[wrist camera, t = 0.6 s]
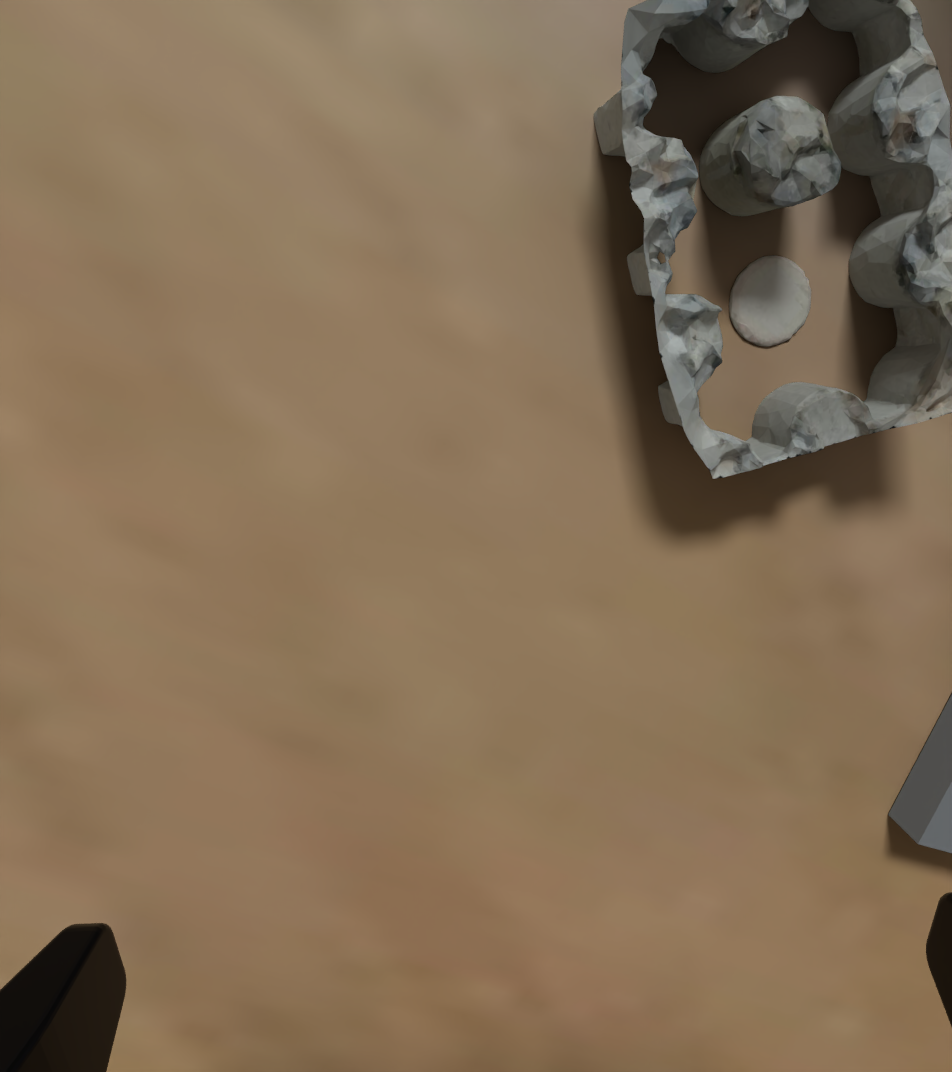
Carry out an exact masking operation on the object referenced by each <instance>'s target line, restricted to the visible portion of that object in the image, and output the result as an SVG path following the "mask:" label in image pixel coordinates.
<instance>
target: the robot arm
mask: <svg viewBox="0 0 952 1072" xmlns="http://www.w3.org/2000/svg"><path fill="white" fill-rule="evenodd" d="M926 956H927V961H928V965H929V968H930V971H931V974H932V976H933V979H934V982H935V984H936V987H937V989H938V992H939V995H940V997H941V1000H942V1003H943V1005H944V1008H945V1010H946V1013H947V1016H948V1018H949V1021H950V1024H951V1026H952V892H951V893H946V894H944V895H943V896H942V897H941V898H940V900H939V902H938V906H937V909H936V912H935V916H934V919H933V922H932V926H931V929H930V932H929V936H928V939H927V943H926ZM125 991H126V974H125V969H124V966H123V963H122V960H121V957H120V953H119V950H118V947H117V944H116V941H115V938H114V934H113V932H112V930H111V928H110V927H109V926H108V925H107V924H104V923H92V924H74V925H71V926H68V927H67V928H65V929H64V930H62V931H61V932H60V933H59V934H58V935H57V936H56V937H55V938H54V939H53V940H52V941H51V942H50V943H49V944H48V945H46V946H45V947H44V948H43V949H42V950H41V951H40V952H39V953H38V954H37V955H36V956H35V957H34V958H33V959H32V960H31V961H30V962H29V963H28V964H27V965H26V966H25V967H24V968H23V969H21V970H20V971H19V972H18V973H17V974H16V975H15V976H14V977H13V978H12V979H11V980H10V981H9V982H8V983H7V984H6V985H5V986H4V987H3V988H2V989H1V990H0V1072H106V1071H107V1067H108V1063H109V1058H110V1054H111V1050H112V1046H113V1042H114V1038H115V1034H116V1030H117V1026H118V1022H119V1018H120V1014H121V1010H122V1006H123V1001H124V997H125Z"/></svg>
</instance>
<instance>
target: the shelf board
mask: <svg viewBox="0 0 952 1072" xmlns="http://www.w3.org/2000/svg"><path fill="white" fill-rule="evenodd" d="M888 815H889V816H890V817H891V818H892V819H893V820H894V821H895V822H896V823H897V824H898V825H899V826H900V827H901V828H902V829H903V830H904V831H905V832H906V833H907V834H908V835H909V836H910V837H911V838H912V839H913V840H914V841H915V842H916V843H917V844H919V845H923V846H927V847H930V848H934V849H938V850H941V851H945V852H949V853H952V694H951V696H950V698H949V700H948V702H947V704H946V706H945V708H944V710H943V712H942V713H941V715H940V717H939V719H938V721H937V723H936V725H935V727H934V729H933V731H932V732H931V734H930V736H929V738H928V740H927V742H926V744H925V746H924V748H923V750H922V751H921V753H920V755H919V757H918V759H917V761H916V763H915V765H914V767H913V769H912V770H911V772H910V774H909V776H908V778H907V780H906V782H905V784H904V786H903V788H902V789H901V791H900V793H899V795H898V797H897V799H896V801H895V803H894V805H893V807H892V808H891V810H890V812H889V814H888Z"/></svg>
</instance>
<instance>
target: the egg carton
mask: <svg viewBox="0 0 952 1072" xmlns="http://www.w3.org/2000/svg"><path fill="white" fill-rule="evenodd" d="M807 7H809V9H810V11H811V13H812V15H813V16H814V17H815V18H816V19H817V20H818V21H819V22H820V23H821V24H822V25H823V26H824V27H827V28H829V29H832V30H834V31H845V32H852V34H853V36H854V39H855V42H856V45H857V48H858V55H859V69H860V77H859V78H858V79H856V80H855V81H853V82H852V83H850V84H849V85H848V86H847V87H845V88H844V89H843V90H842V92H841V93H840V94H839V96H838V97H837V98H836V100H835V102H834V104H833V106H832V108H831V110H830V111H829V114H828V122H827V125H826V121H825V118H824V114H823V113H822V112H821V111H819V110H818V109H816V108H815V107H813V106H812V105H810V104H809V103H807V102H806V101H804V100H803V99H801V98H799V97H793V96H774V97H771V98H769V99H766V100H763V101H760V102H758V103H757V104H756V105H754V106H752V107H751V108H749V109H747V110H745V111H743V112H741V113H739V114H737V115H736V116H734V117H732V118H730V119H729V120H727V121H726V122H724V123H723V124H722V125H721V126H719V127H718V128H717V129H716V130H715V131H714V132H713V133H712V135H711V136H710V138H709V139H708V141H707V143H706V145H705V146H704V148H703V151H702V153H701V156H700V163H699V177H700V181H701V185H702V189H703V190H704V192H705V194H706V195H707V197H708V198H709V199H710V200H711V201H712V202H713V203H714V204H715V205H716V206H717V207H719V208H720V209H722V210H724V211H725V212H727V213H729V214H731V215H733V216H750V215H754V214H759V213H763V212H766V211H770V210H774V209H778V208H784V207H789V206H794V205H797V204H800V203H803V202H805V201H808V200H811V199H814V198H816V197H818V196H821V195H823V194H824V193H826V192H828V191H830V190H832V189H833V188H834V187H835V186H836V185H837V184H838V181H839V178H840V173H841V167H842V168H843V169H845V170H847V171H850V172H852V173H855V174H858V175H865V176H869V177H870V179H871V184H872V188H873V191H874V193H875V196H876V199H877V202H878V205H879V208H880V213H881V216H880V218H878V219H876V220H875V221H873V222H872V223H871V224H869V225H868V226H867V227H866V228H865V229H864V230H863V231H862V232H861V234H860V235H859V237H858V239H857V240H856V242H855V244H854V247H853V249H852V252H851V255H850V259H849V276H850V279H851V282H852V285H853V286H854V288H855V290H856V292H857V293H858V295H859V296H860V297H861V298H862V299H863V300H864V301H865V302H867V303H870V304H873V305H876V306H879V307H882V308H893V310H894V315H895V319H896V324H897V333H898V335H897V342H896V346H895V348H893V349H892V350H891V351H889V352H888V353H886V354H885V355H884V356H883V357H882V358H881V360H880V361H879V362H878V364H877V365H876V366H875V368H874V370H873V373H872V375H871V378H870V383H869V387H868V393H867V398H866V400H865V401H861V400H860V399H859V398H858V397H857V396H855V395H854V394H853V393H850V392H847V391H844V390H841V389H838V388H832V387H826V386H821V385H816V384H811V383H804V382H794V383H789V384H785V385H783V386H781V387H779V388H778V389H775V390H774V391H773V392H771V393H770V394H769V395H768V396H766V397H765V398H764V399H763V401H762V402H761V404H760V405H759V407H758V409H757V411H756V413H755V417H754V421H753V425H752V437H751V438H750V439H748V440H747V441H743V440H741V439H739V438H736V437H734V436H732V435H729V434H726V433H723V432H720V431H715V430H711V429H710V428H709V427H708V426H707V425H706V424H705V423H704V421H703V420H702V418H701V417H700V412H699V398H698V395H697V392H698V390H699V389H700V387H701V386H702V384H703V383H704V382H705V381H706V380H707V379H708V378H709V377H710V376H711V375H712V374H713V372H714V370H715V368H716V367H717V366H719V365H720V364H721V363H722V358H721V351H722V347H723V342H722V334H721V330H720V326H719V322H718V319H717V317H718V313H719V312H720V311H722V309H721V308H720V307H719V306H717V305H714V304H712V303H711V302H709V301H708V300H706V299H704V298H703V297H701V296H699V295H696V294H665V290H666V286H667V285H668V283H669V282H670V281H671V278H672V274H673V273H672V271H671V268H670V265H669V262H668V260H669V259H670V257H671V256H672V254H673V253H674V252H675V238H676V237H677V235H678V234H679V232H680V231H681V230H683V229H686V228H688V226H689V224H690V223H691V221H692V219H693V217H694V216H695V214H696V212H697V209H696V207H695V204H694V202H693V198H694V193H695V187H696V181H697V179H698V171H697V169H696V165H695V163H694V161H693V159H692V157H691V155H690V154H689V152H688V151H687V150H686V149H685V147H684V145H683V143H682V140H680V139H676V138H669V137H661V136H657V135H654V134H653V133H651V132H649V131H647V130H646V129H645V128H644V126H643V119H644V117H645V116H646V114H647V113H648V112H649V111H650V109H651V106H652V103H653V101H654V100H655V98H656V96H657V92H656V88H655V84H654V82H653V81H652V79H651V78H649V77H647V76H645V75H644V74H643V71H644V69H645V68H646V67H647V65H648V64H649V62H650V61H651V59H652V57H653V54H654V52H655V46H656V44H657V41H658V39H659V38H663V39H664V40H665V41H666V42H667V43H668V44H669V43H672V44H673V46H675V47H676V49H677V50H676V51H678V52H679V53H680V54H681V56H682V57H683V58H684V59H685V60H686V61H687V62H689V63H690V64H691V65H693V66H695V67H696V68H698V69H701V70H702V71H704V72H713V73H718V72H724V71H727V70H730V69H732V68H734V67H735V66H737V65H739V64H740V63H741V62H743V61H744V60H746V59H748V58H749V57H750V56H751V55H753V54H754V53H756V52H757V51H759V50H760V49H762V48H764V47H766V46H767V45H768V44H771V43H774V42H776V41H778V40H780V39H783V38H785V37H787V34H788V28H789V25H790V24H791V23H792V22H793V21H795V20H796V19H797V18H799V17H801V16H802V15H803V13H804V12H805V10H806V9H807ZM621 86H622V88H621V90H620V91H619V92H617V93H616V94H615V95H614V96H613V97H612V98H611V99H610V100H608V101H607V102H606V103H605V104H604V105H603V106H601V107H599V108H598V109H597V111H596V112H595V113H594V122H595V127H596V132H597V136H598V140H599V144H600V147H601V151H602V153H603V154H605V155H610V156H623V157H626V161H627V162H628V163H629V164H630V166H631V168H632V174H631V179H630V184H629V186H630V190H631V194H632V198H633V200H634V202H635V203H636V204H637V206H638V207H639V208H640V210H641V212H642V214H643V217H644V244H643V245H642V246H641V247H639V248H638V249H636V250H634V251H633V252H631V253H630V254H629V255H627V262H628V268H629V271H630V275H631V280H632V285H633V288H634V291H635V293H636V294H637V295H645V296H652V297H653V302H654V312H655V322H656V332H657V339H658V346H659V353H660V356H661V359H662V362H663V365H664V368H665V371H666V375H667V378H668V381H666V382H664V383H662V384H661V385H659V386H658V392H659V400H660V404H661V408H662V412H663V415H664V417H665V420H666V421H667V422H668V423H671V424H678V425H680V426H683V429H684V432H685V433H686V435H687V437H688V439H689V441H690V443H691V445H692V447H693V448H694V449H695V451H696V452H697V454H698V455H699V456H700V458H701V459H702V460H703V462H704V463H705V465H706V466H707V467H708V469H709V470H710V472H711V475H712V478H713V479H715V478H724V477H727V476H730V475H734V474H738V473H742V472H746V471H750V470H754V469H758V468H761V467H762V466H764V465H767V464H771V463H774V462H777V461H781V460H784V459H788V458H792V457H795V456H799V455H803V454H808V453H812V452H816V451H819V450H822V449H824V446H828V445H831V444H835V443H839V442H842V441H845V440H849V439H852V438H855V437H858V436H862V435H865V434H871V433H875V432H879V431H883V430H887V429H891V428H896V427H901V426H906V425H910V424H915V423H919V422H922V421H926V420H929V419H932V418H936V417H939V416H942V415H945V414H949V413H952V148H951V144H950V103H949V100H948V98H947V95H946V92H945V89H944V87H943V83H942V80H941V77H940V74H939V70H938V67H937V64H936V61H935V58H934V56H933V53H932V50H931V49H930V47H929V45H928V43H927V41H926V39H925V37H924V36H923V29H922V21H921V17H920V15H919V13H918V11H917V8H916V7H915V6H914V5H913V3H912V2H911V1H910V0H647V1H645V2H642V3H640V4H638V5H636V6H633V7H631V8H629V9H628V12H627V15H626V19H625V22H624V35H623V49H622V62H621ZM659 251H660V252H661V253H663V254H665V260H666V262H665V263H663V264H661V263H660V261H659V260H658V259H657V256H658V253H659ZM810 305H811V289H810V287H809V279H808V278H806V277H805V272H804V271H803V270H802V269H801V268H800V267H799V266H798V265H797V264H796V263H795V262H793V261H791V260H789V259H787V258H786V257H780V256H775V255H773V256H763V257H761V258H759V259H757V260H755V261H754V262H752V263H750V264H749V265H748V266H747V267H746V268H745V269H744V270H743V271H742V272H741V273H740V274H739V275H738V277H737V279H736V281H735V283H734V285H733V287H732V289H731V294H730V301H729V314H730V319H731V321H732V324H733V326H734V327H735V329H736V330H737V332H738V333H739V334H740V335H741V336H742V337H743V338H745V339H746V340H747V341H749V342H751V343H753V344H755V345H758V346H764V347H768V346H773V345H778V344H780V343H782V342H784V341H786V340H789V339H790V338H791V337H792V335H793V334H794V333H796V332H797V331H798V330H799V329H800V328H801V326H802V325H803V324H804V323H805V320H806V318H807V315H808V313H809V310H810Z"/></svg>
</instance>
